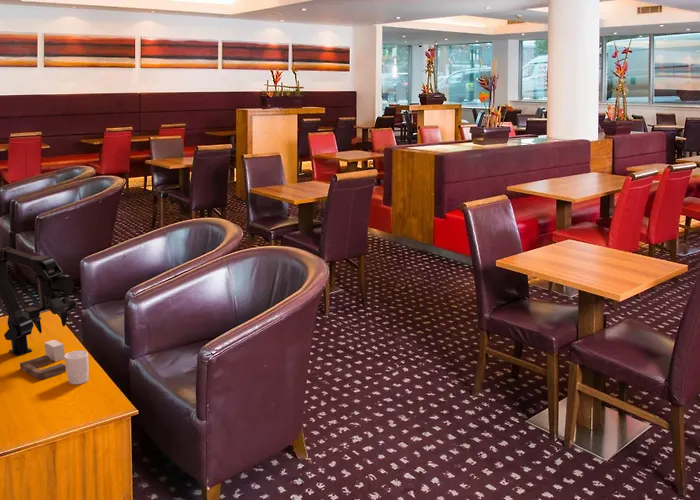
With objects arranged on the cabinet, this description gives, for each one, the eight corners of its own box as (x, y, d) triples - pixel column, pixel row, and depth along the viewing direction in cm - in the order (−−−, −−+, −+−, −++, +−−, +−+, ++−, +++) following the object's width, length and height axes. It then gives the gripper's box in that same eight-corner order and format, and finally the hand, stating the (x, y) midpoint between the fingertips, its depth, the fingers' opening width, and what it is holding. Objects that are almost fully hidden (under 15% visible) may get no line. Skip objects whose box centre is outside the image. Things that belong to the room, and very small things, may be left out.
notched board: (20, 369, 268) (19, 363, 268) (46, 361, 276) (45, 355, 275) (39, 380, 259) (38, 373, 259) (66, 371, 267) (65, 365, 266)
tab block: (46, 357, 280) (44, 342, 278) (55, 354, 283) (54, 339, 281) (55, 361, 276) (53, 347, 274) (65, 358, 279) (63, 344, 277)
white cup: (75, 387, 254) (72, 360, 251) (62, 381, 258) (59, 355, 256) (95, 379, 260) (92, 353, 257) (82, 374, 265) (79, 348, 262)
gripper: (34, 300, 260) (38, 341, 264) (82, 288, 274) (86, 327, 278) (19, 294, 268) (24, 334, 271) (67, 283, 281) (71, 321, 285)
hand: (52, 329), depth 276 cm, fingers open, 9 cm apart
